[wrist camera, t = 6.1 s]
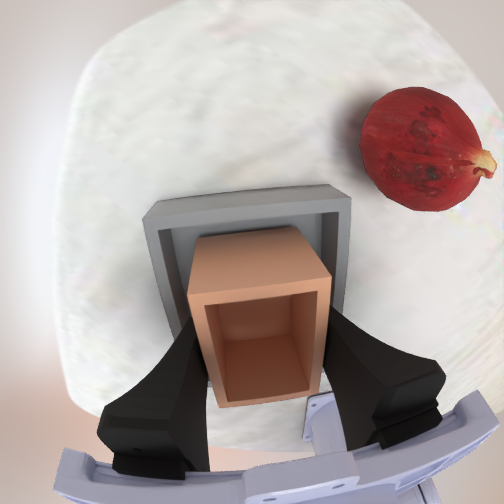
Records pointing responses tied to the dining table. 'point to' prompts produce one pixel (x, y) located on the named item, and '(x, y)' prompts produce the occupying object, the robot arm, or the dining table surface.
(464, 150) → the onion
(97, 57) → the dining table surface
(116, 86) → the dining table surface
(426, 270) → the dining table surface
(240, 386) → the small crate
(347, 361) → the robot arm
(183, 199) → the big crate
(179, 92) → the dining table surface
